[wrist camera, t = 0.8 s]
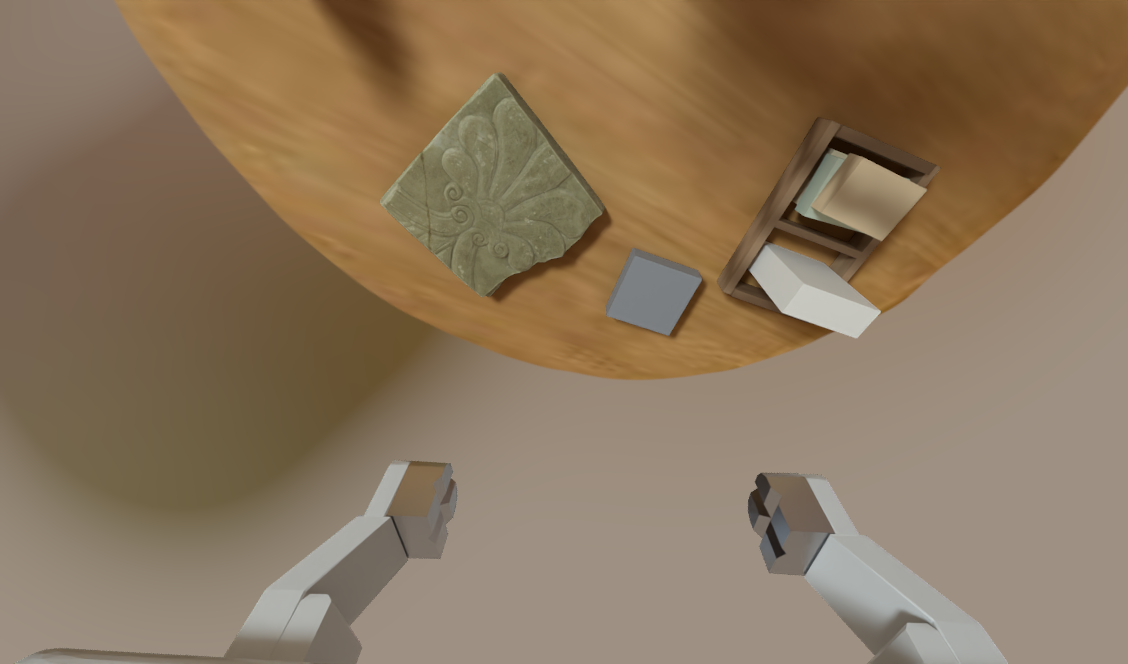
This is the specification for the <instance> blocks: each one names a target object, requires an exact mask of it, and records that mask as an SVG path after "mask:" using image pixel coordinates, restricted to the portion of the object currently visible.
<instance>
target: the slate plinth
mask: <svg viewBox="0 0 1128 664" xmlns="http://www.w3.org/2000/svg"><path fill="white" fill-rule="evenodd" d="M701 281H702V277H701V276H700V274H699V272H698V270H695V269H692V268H689V267H686V266H684V265H681V264H678V263H675V262H672V261H669V260H667V259H664V258H661V257H658V256H655V255H652V254H650V253H647V252H644V251H641V250H638V249H635V248H633V249H632V251H631V253H630V255H629V258H628V260H627V262H626V264H625V266H624V268H623V271H622V273H621V275H620V277H619V279H618V281H617V283H616V286H615V288H614V290H613V292H612V294H611V296H610V298H609V301H608V303H607V305H606V315H607V316H609V317H612V318H615V319H618V320H621V321H624V322H627V323H630V324H634V325H637V326H640V327H643V328H646V329H649V330H652V331H655V332H658V333H661V334H664V335H668V336H669V334H670V333H671V331H672V329H673V328H674V326H675V324H676V323H677V321H678V319H679V318H680V316H681V314H682V313H683V311H684V309H685V308H686V306H687V304H688V302H689V301H690V299H691V297H692V296H693V294H694V292H695V291H696V289H697V287H698V286H699V284H700V282H701Z"/></svg>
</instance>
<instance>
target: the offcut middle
mask: <svg viewBox="0 0 1128 664" xmlns="http://www.w3.org/2000/svg"><path fill="white" fill-rule="evenodd" d="M844 160H845V159H843V158H840V157H836V156H833V155H830V154H826V156H825V157H824V159H823V161H822V163H821V164H820V166H819V168H818V170H817V171H816V173H815V175H814V176H813V178H812V180H811V182H810V183H809V185H808V187H807V189H806V190H805V192H804V194H803V196H802V197H801V199H800V201H799V203H798V204H797V206H796V208H795V210H796V211H797V212H799V213H800V214H802V215H803V216H805V217H808V218H812V219H815V220H819V221H823V222H826V223H830V224H833V225H837V226H840V227H844V228H847V229H851V230H854V231H858V232H861V231H859V230H857V229H855V228H852V227H850V226H848V225H846V224H844V223H842V222H840V221H838V220H835V219H833V218H831V217H829V216H827V215H825V214H823V213H821V212H819V211H818V210H816V209H815V208H813V207H811V205H812V203H813V202H814V201H815V199H816V198H817V197H818V195H819V194H820V193H821V191H822V190H823V189H824V187H825V186H826V185H827V183H828V182H829V181H830V179H831V178H832V176H833V175H834V174H835V172H836V171H837V170H838V168H839V167H840V166H841V164H842V163H843V162H844ZM901 177H902V176H901ZM903 178H904V177H903ZM905 179H907V178H905ZM907 180H909V181H910V179H907ZM861 233H863V232H861Z"/></svg>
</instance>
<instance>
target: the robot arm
mask: <svg viewBox="0 0 1128 664" xmlns="http://www.w3.org/2000/svg"><path fill="white" fill-rule="evenodd" d="M452 473H453V470H452V466H451V464H450V463H436V462H419V461H399V460H398V461H397V460H394V461H393V462H392V463H391V464H390V465H389V467H388V469H387V471H386V473H385V475H384V477H383V479H382V481H381V483H380V485H379V487H378V489H377V491H376V493H375V495H374V497H373V499H372V501H371V503H370V505H369V507H368V508H367V510H366V512H365V514H364V515H363V516H362V515H359V516H357V517H356V518H355V519H353V520H352V521H351V522H350V523H348V524H347V525H346V526H345V527H343V528H342V529H341V530H340V531H338V532H337V533H336V534H334V535H333V536H332V537H331V538H329V539H328V540H327V541H326V542H324V543H323V544H322V545H321V546H319V547H318V548H317V549H316V550H314V551H313V552H312V553H311V554H309V555H308V556H307V557H306V558H304V559H303V560H302V561H301V562H299V563H298V564H297V565H296V566H294V567H293V568H292V569H291V570H289V571H288V572H287V573H286V574H284V575H283V576H282V577H281V578H279V579H278V580H277V581H276V582H274V583H273V584H272V585H270V586H269V587H268V588H267V589H266V590H265V591H264V593H263V594H262V596H261V598H260V599H259V601H258V602H257V604H256V606H255V607H254V609H253V611H252V612H251V614H250V615H249V617H248V619H247V620H246V622H245V623H244V625H243V627H242V628H241V630H240V631H239V633H238V635H237V636H236V638H235V640H234V641H233V643H232V644H231V646H230V647H229V649H228V651H227V652H226V654H225V656H224V657H209V656H191V655H189V656H188V655H172V654H154V653H153V654H152V653H136V652H135V653H134V652H117V651H99V650H85V649H69V648H58V649H57V648H54V649H46V650H42V651H39V652H36V653H34V654H32V655H30V656H28V657H26V658H24V659H22V660H20V661H18V662H16V663H15V664H356V663H357V660H358V657H359V655H360V652H361V649H362V647H361V644H360V641H359V640H358V638H357V637H356V635H355V634H354V632H353V631H352V629H351V628H350V625H351V624H352V623H353V622H354V620H355V619H356V618H357V617H358V616H359V615H360V614H361V613H362V611H363V610H364V609H365V608H366V607H367V606H368V605H369V603H370V602H371V601H372V600H373V599H374V598H375V597H376V596H377V595H378V593H379V592H380V591H381V590H382V589H383V588H384V587H385V586H386V585H387V583H388V582H389V581H390V580H391V579H392V577H394V575H395V574H396V573H397V572H398V571H399V570H400V569H401V568H402V567H403V565H404V564H405V563H406V562H407V561H408V558H430V559H440V558H441V555H442V552H443V549H444V545H445V542H446V539H447V535H448V533H447V528H446V524H447V523H448V522H449V521H450V520H451V519H452V518H453V515H454V512H455V508H456V501H457V486H456V482H455V481H454V480H452V479H451V476H452ZM755 483H756V486H757V489H756V490H754V491H752V492H751V493H750V496H749V499H748V513H749V518H750V522H751V525H752V528H753V530H754V531H755V532H756V533H757V534H758V535H760V536H761V537H762V541H761V544H760V550H761V552H762V555H763V558H764V561H765V563H766V566H767V569H768V571H769V573H774V574H788V575H802V576H805V577H804V578H805V579H806V580H807V581H808V582H809V584H810V585H811V586H812V587H813V588H814V589H815V590H816V591H817V592H818V593H819V594H820V596H821V597H822V598H823V599H824V600H825V601H826V602H827V603H828V604H829V605H830V607H831V608H832V609H833V610H834V611H835V612H836V613H837V614H838V615H839V617H840V618H841V619H842V620H843V621H844V622H845V623H846V624H847V625H848V627H849V628H851V630H852V631H853V632H854V633H855V634H856V635H857V636H858V638H859V639H861V641H862V642H863V643H864V644H865V645H866V646H867V647H868V649H869V650H870V651H871V652H872V653H873V654H874V655H875V656H874V657H873V658H872V659H871V660H870V661H869V662H868V663H867V664H1008V662H1007V661H1006V660H1005V658H1004V657H1003V655H1002V654H1001V652H1000V651H999V650H998V648H997V647H996V646H995V644H994V643H993V641H992V640H991V638H990V637H989V635H988V634H987V633H986V631H985V630H984V628H983V627H982V626H981V625H980V624H979V623H978V622H977V621H975V620H974V619H973V618H972V617H970V616H969V615H968V614H966V613H965V612H964V611H963V610H961V609H960V608H959V607H957V606H956V605H955V604H954V603H952V602H951V601H950V600H948V599H947V598H946V597H944V596H943V595H942V594H940V593H939V592H938V591H937V590H935V589H934V588H933V587H932V586H930V585H929V584H928V583H926V582H925V581H924V580H923V579H921V578H920V577H919V576H917V575H916V574H915V573H914V572H912V571H911V570H910V569H908V568H907V567H906V566H905V565H903V564H902V563H901V562H899V561H898V560H897V559H896V558H894V557H893V556H892V555H890V554H889V553H888V552H887V551H885V550H884V549H883V548H881V547H880V546H879V545H877V544H876V543H875V542H874V541H872V540H871V539H870V538H868V537H867V536H865V535H859V533H858V531H857V530H856V528H855V526H854V525H853V523H852V521H851V520H850V518H849V516H848V515H847V513H846V511H845V510H844V508H843V506H842V505H841V503H840V501H839V500H838V498H837V496H836V495H835V493H834V491H833V489H832V488H831V486H830V484H829V483H828V481H827V480H826V478H825V477H824V476H822V475H818V474H798V473H797V474H796V473H760V474H759V475H757V478H756V480H755Z"/></svg>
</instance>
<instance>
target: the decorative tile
mask: <svg viewBox="0 0 1128 664" xmlns="http://www.w3.org/2000/svg"><path fill="white" fill-rule="evenodd" d="M380 203H381V205H382V206H383V207H384V208H385V209H386V210H387V211H388V212H389V213H390V214H391V215H392V216H393V217H394V218H395V219H396V220H397V221H398V222H399V223H400V224H401V225H402V226H403V227H404V228H405V229H406V230H407V231H409V232H410V233H411V234H412V235H413V236H414V237H415V238H416V239H417V240H419V241H420V242H421V243H422V244H423V245H424V246H425V247H426V248H427V249H428V250H430V251H431V252H432V253H433V254H434V255H435V256H436V257H437V258H438V259H439V260H440V261H441V262H442V263H444V264H445V265H446V266H447V267H448V268H449V269H450V270H451V271H452V272H453V273H454V274H455V275H456V276H457V277H458V278H460V279H461V280H462V281H463V282H464V283H465V284H467V285H468V286H469V287H470V288H471V289H473V290H474V291H475V292H476V293H477V294H479V295H480V296H481V297H484V296H487V297H489V296H491V295H492V294H493V293H494V292H495V291H496V290H497V289H498V288H499V287H500V285H501V284H502V282H503V281H504V280H505V279H506V278H507V277H509V276H511V275H513V274H516V273H520V272H522V271H527V270H529V269H530V268H531V267H532V266H534V265H535V264H536V263H537V262H546V261H548V260H550V259H554V258H559V257H562V256H563V255H564V253H565V252H566V251H567V249H569V248H570V247H571V246H572V245H573V244H574V243H575V242H576V241H578V240H579V239H580V238H581V237H582V235H583V234H584V232H585V231H586V230H587V228H588V227H589V226H590V225H591V224H592V222H593V221H594V220H595V219H596V218H597V217H599V216H600V215H602V213H603V211H604V209H605V206H604V204H603V203H602V202H601V200H600V199H599V198H598V196H597V195H596V194H595V192H594V191H593V190H592V188H591V187H590V186H589V184H588V183H587V182H586V180H585V179H584V178H583V176H582V175H581V173H580V172H579V171H578V170H577V168H576V167H575V165H574V164H573V163H572V161H571V160H570V159H569V157H568V156H567V155H566V154H565V152H564V151H563V150H562V149H561V147H560V146H559V145H558V143H557V142H556V141H555V140H554V138H553V137H552V136H551V134H550V133H549V132H548V131H547V129H546V128H545V127H544V125H543V124H542V123H541V121H540V120H539V119H538V117H537V116H536V115H535V114H534V112H533V111H532V110H531V109H530V107H529V106H528V105H527V104H526V102H525V101H524V100H523V99H522V97H521V96H520V95H519V93H518V92H517V91H516V89H515V88H514V87H513V86H512V84H511V83H510V82H509V80H508V79H507V78H506V77H505V75H504V74H502V73H500V72H499V73H494V74H493V75H492V76H490V77H489V78H488V79H487V80H486V82H485V83H484V84H483V85H482V86H481V87H480V88H479V89H478V90H477V91H476V92H475V94H474V95H473V96H472V97H471V98H470V99H469V100H468V101H467V102H466V103H465V104H464V105H463V107H462V108H461V109H460V110H459V111H458V112H457V113H456V114H455V115H454V116H453V117H452V118H451V120H450V121H449V122H448V123H447V124H446V125H445V126H444V127H443V128H442V130H441V131H440V132H439V133H438V134H437V135H436V136H435V137H434V139H433V140H432V141H431V142H430V143H429V145H428V146H427V147H426V148H425V149H424V150H423V151H422V152H421V153H420V154H419V155H418V156H417V157H416V158H415V159H414V161H413V162H412V163H411V164H410V165H409V166H408V167H407V169H406V170H405V171H404V172H403V173H402V174H401V176H400V177H399V178H398V179H397V180H396V182H395V183H394V184H393V185H392V186H391V187H390V189H389V190H388V191H387V192H386V193H385V194H384V196H383V197H382V198H381V200H380Z"/></svg>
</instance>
